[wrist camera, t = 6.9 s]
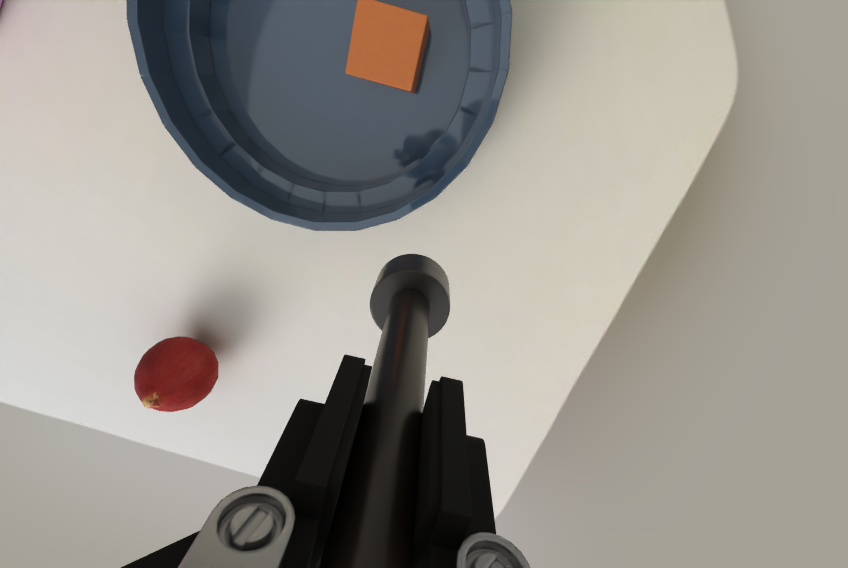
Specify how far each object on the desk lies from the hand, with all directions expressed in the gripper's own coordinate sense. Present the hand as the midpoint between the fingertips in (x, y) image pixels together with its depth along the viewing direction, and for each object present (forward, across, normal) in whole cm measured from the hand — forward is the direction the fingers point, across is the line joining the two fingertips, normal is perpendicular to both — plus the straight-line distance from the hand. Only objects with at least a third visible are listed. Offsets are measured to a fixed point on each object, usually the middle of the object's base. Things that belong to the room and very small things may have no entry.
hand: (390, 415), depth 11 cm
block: (+23, +4, -10) cm, 25 cm away
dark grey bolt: (+9, 0, 0) cm, 9 cm away
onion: (+24, +16, +17) cm, 33 cm away
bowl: (+23, +8, -9) cm, 26 cm away
